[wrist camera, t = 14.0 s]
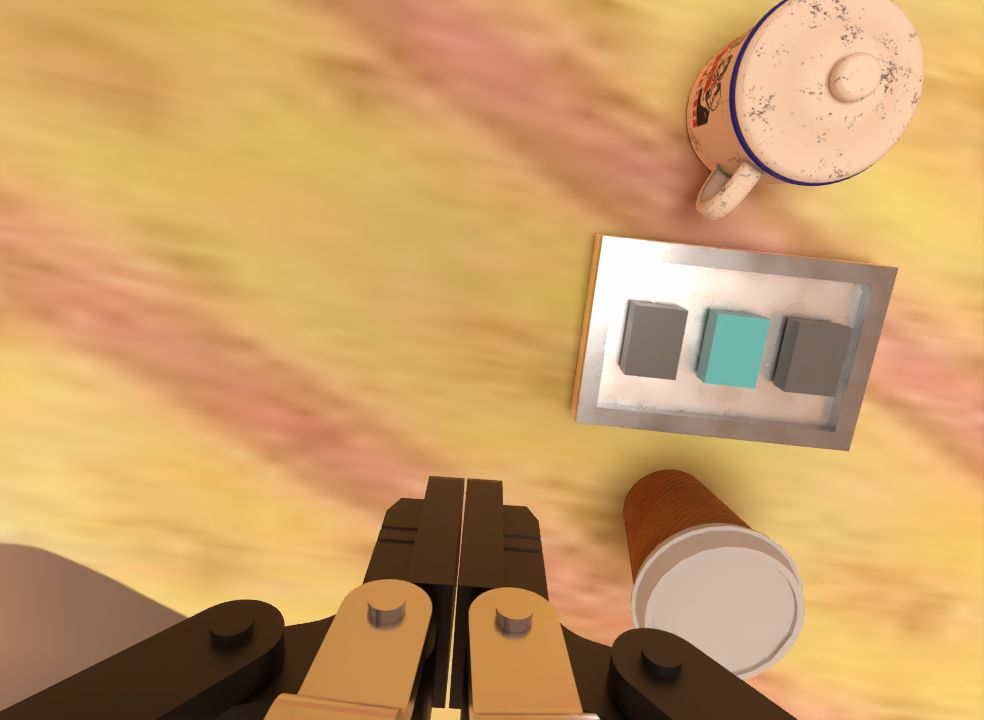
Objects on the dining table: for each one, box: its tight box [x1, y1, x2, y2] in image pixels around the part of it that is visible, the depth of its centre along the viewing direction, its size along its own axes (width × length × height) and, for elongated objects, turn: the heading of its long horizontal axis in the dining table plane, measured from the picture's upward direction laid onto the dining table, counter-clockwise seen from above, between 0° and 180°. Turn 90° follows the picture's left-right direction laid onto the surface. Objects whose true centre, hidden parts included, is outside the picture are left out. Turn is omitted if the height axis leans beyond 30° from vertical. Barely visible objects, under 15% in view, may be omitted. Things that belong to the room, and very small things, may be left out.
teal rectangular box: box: [697, 309, 771, 389], centre depth 38 cm, size 4×3×2 cm
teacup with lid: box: [687, 0, 924, 220], centre depth 33 cm, size 12×9×12 cm
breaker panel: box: [571, 233, 898, 451], centre depth 40 cm, size 12×18×3 cm, turn 84°
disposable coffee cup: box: [623, 470, 804, 680], centre depth 39 cm, size 10×10×12 cm
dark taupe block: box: [773, 318, 852, 397], centre depth 39 cm, size 4×3×2 cm
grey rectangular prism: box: [620, 301, 688, 380], centre depth 38 cm, size 4×3×2 cm
